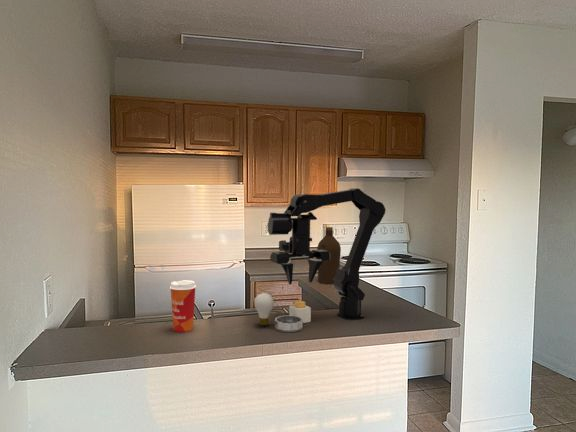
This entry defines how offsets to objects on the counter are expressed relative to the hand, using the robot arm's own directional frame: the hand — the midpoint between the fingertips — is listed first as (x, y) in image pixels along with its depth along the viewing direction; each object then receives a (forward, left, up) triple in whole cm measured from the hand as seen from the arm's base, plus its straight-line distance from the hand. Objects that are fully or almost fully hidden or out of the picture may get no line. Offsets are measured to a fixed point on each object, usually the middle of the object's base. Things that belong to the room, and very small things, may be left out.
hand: (300, 283), depth 134 cm
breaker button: (0, 0, -9) cm, 9 cm away
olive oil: (-39, -46, -12) cm, 61 cm away
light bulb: (+12, 0, -12) cm, 17 cm away
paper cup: (+35, -6, -12) cm, 38 cm away
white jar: (0, 0, -12) cm, 12 cm away
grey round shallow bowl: (+6, +5, -12) cm, 14 cm away
